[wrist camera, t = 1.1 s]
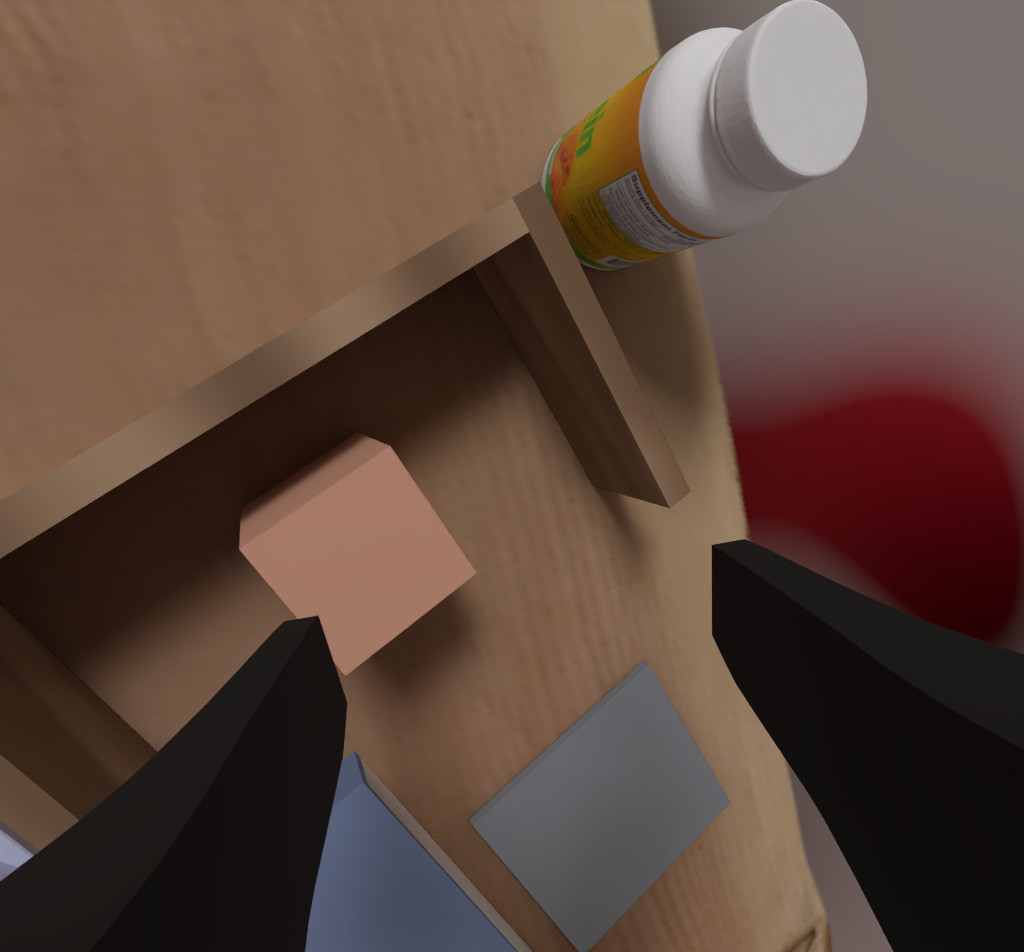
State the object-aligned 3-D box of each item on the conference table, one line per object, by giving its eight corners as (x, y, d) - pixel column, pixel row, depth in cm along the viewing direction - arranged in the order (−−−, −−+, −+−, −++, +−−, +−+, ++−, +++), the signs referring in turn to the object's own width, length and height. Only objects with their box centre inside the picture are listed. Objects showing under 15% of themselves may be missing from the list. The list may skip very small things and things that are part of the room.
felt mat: (578, 949, 28) (582, 956, 28) (469, 819, 25) (472, 825, 24) (724, 797, 31) (730, 802, 30) (643, 660, 27) (649, 664, 27)
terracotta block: (322, 607, 21) (345, 676, 16) (241, 508, 20) (239, 549, 15) (425, 531, 22) (476, 573, 17) (356, 431, 21) (390, 445, 16)
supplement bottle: (595, 93, 23) (817, -93, 14) (678, 205, 25) (916, 106, 16) (509, 195, 22) (685, 67, 13) (602, 301, 24) (808, 254, 15)
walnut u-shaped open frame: (174, 814, 20) (152, 939, 16) (-99, 568, 16) (-231, 638, 12) (611, 471, 25) (690, 491, 21) (478, 224, 22) (539, 181, 17)
